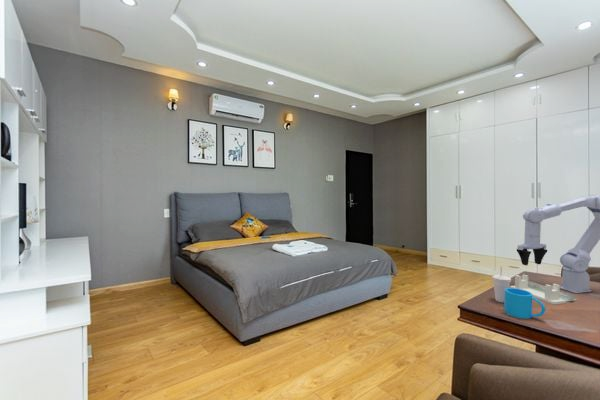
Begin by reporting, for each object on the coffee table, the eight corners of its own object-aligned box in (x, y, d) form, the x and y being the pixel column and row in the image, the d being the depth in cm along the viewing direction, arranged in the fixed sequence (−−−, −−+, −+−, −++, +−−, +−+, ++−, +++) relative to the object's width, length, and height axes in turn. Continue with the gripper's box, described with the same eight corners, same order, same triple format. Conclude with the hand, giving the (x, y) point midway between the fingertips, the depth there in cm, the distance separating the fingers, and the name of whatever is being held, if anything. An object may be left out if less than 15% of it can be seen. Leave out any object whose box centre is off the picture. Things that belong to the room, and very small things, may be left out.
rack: (520, 287, 136) (520, 273, 136) (565, 303, 118) (566, 286, 117) (509, 288, 135) (510, 273, 134) (554, 304, 116) (554, 287, 116)
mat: (535, 286, 137) (535, 285, 137) (576, 300, 120) (576, 299, 120) (523, 287, 135) (523, 287, 135) (563, 302, 119) (563, 301, 119)
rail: (530, 285, 137) (530, 281, 137) (573, 300, 119) (574, 295, 119) (526, 286, 136) (526, 281, 136) (569, 301, 119) (569, 295, 119)
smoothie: (504, 298, 123) (505, 265, 122) (514, 304, 117) (515, 269, 116) (488, 297, 124) (489, 264, 123) (497, 303, 117) (498, 269, 117)
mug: (500, 312, 109) (501, 291, 108) (508, 307, 114) (509, 286, 113) (541, 324, 99) (542, 301, 99) (548, 318, 104) (549, 295, 104)
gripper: (528, 237, 131) (527, 267, 131) (553, 236, 134) (552, 265, 135) (513, 235, 138) (512, 263, 138) (537, 233, 141) (536, 261, 142)
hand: (531, 264), depth 137 cm, fingers open, 7 cm apart
